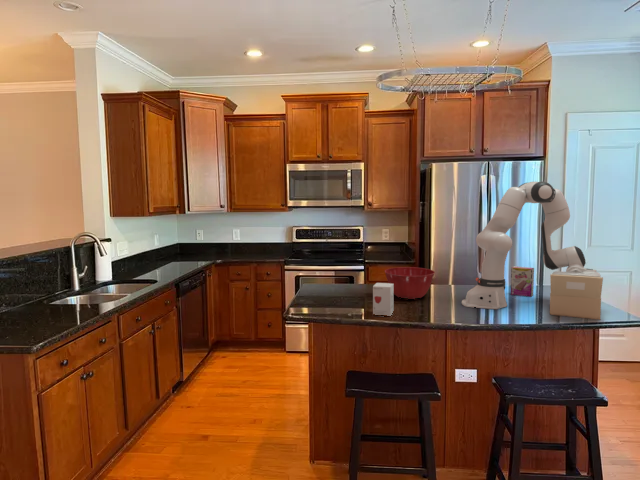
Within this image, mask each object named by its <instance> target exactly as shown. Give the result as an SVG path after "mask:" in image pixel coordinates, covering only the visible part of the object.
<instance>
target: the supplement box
mask: <svg viewBox="0 0 640 480" xmlns="http://www.w3.org/2000/svg"><path fill="white" fill-rule="evenodd" d="M394 295H395V294H394V284H390V283H388V282H376V283H375V284H373V286H372V315H373V314H375V315H387V316H391V315H392V316H393V314H394V313H393V311H394V309H395V308H394V304H395V303H394V302H395V301H394ZM394 312H395V311H394ZM392 313H393V314H392ZM392 316H391V317H392Z"/></svg>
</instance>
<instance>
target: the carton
mask: <svg viewBox="0 0 640 480" xmlns="http://www.w3.org/2000/svg"><path fill="white" fill-rule="evenodd" d="M549 295H550V296H549V315H551V316H560V317H570V318H580V319H581V318H582V319H587V320H588V319H589V320H600V321H601V310H602V309H601V308H602V298H601V299H594V298H582V297H570V296H558V295H551V292H550V293H549Z"/></svg>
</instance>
